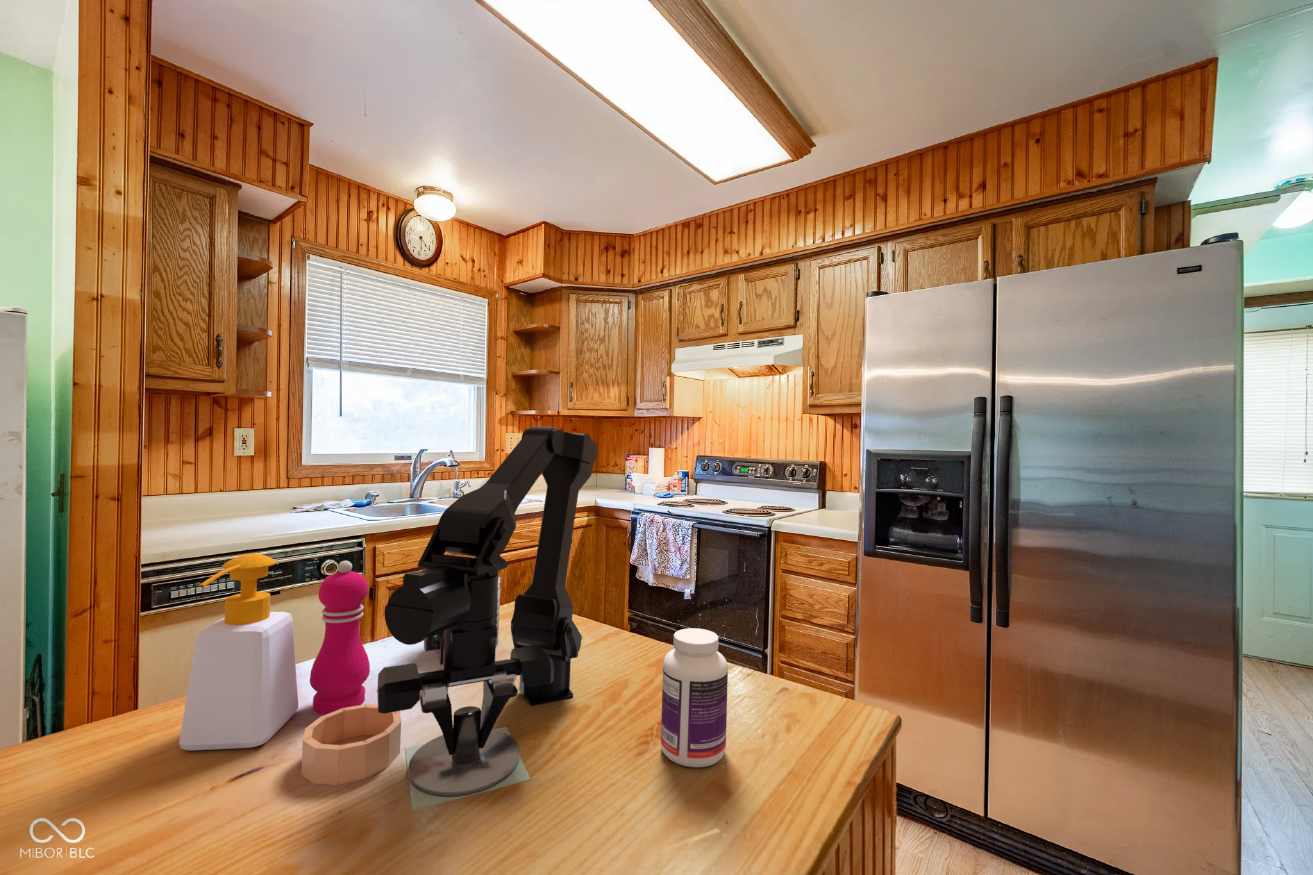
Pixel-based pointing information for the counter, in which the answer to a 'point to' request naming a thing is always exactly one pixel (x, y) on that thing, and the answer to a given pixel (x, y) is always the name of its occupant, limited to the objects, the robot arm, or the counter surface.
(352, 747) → the bowl
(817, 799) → the counter surface
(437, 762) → the lid
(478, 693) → the counter surface
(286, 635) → the soap bottle
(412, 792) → the mat
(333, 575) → the pepper mill
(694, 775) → the counter surface
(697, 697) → the pill bottle
